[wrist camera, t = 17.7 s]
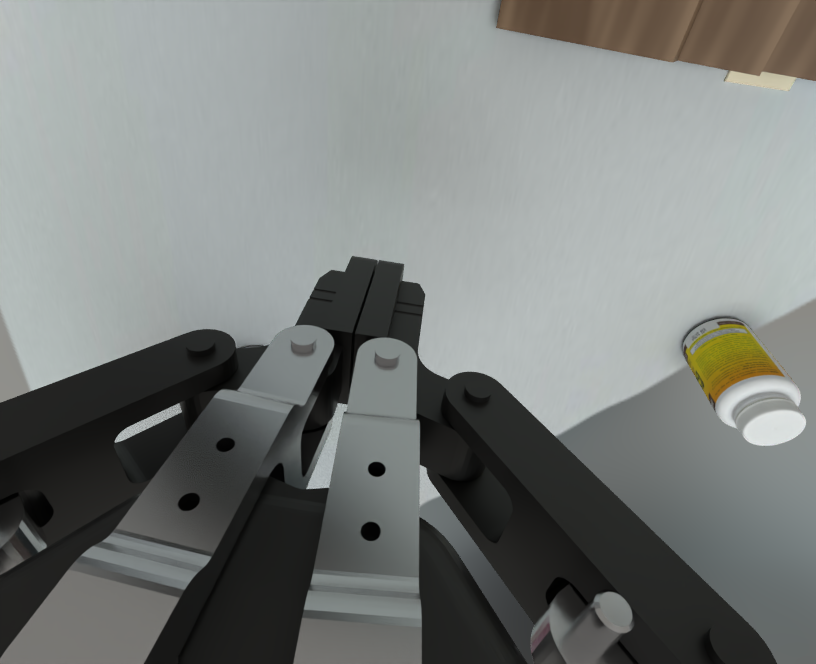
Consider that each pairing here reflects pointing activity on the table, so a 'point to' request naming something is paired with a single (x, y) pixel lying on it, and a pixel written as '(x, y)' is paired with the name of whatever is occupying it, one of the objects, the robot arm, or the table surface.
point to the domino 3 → (796, 45)
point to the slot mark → (762, 80)
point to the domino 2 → (737, 33)
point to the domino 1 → (607, 23)
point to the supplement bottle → (744, 382)
